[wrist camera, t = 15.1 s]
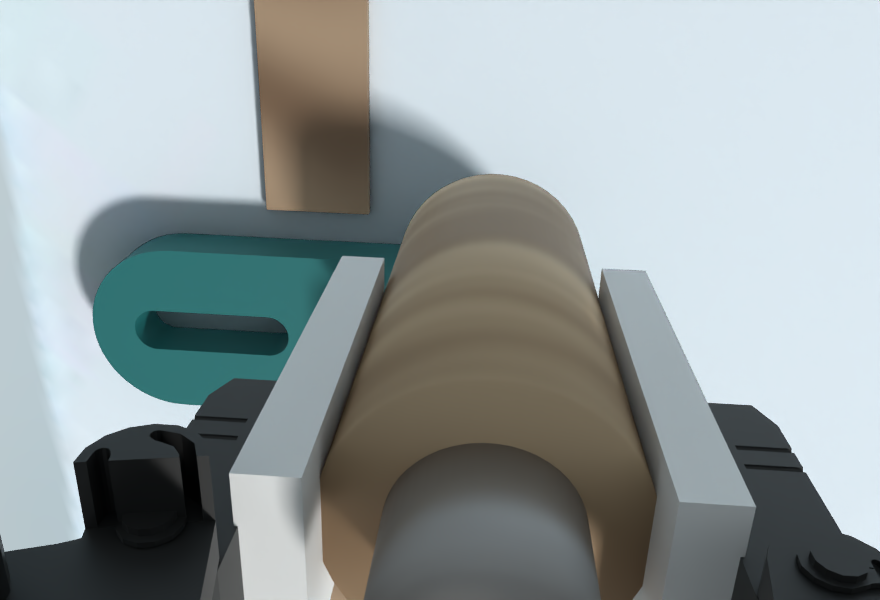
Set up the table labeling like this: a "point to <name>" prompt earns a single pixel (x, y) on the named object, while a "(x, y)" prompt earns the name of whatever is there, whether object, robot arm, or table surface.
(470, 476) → the tan cylinder gray tip
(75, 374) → the table surface
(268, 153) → the wooden slat
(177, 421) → the table surface
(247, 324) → the table surface
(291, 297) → the bracket
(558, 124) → the table surface
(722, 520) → the robot arm
